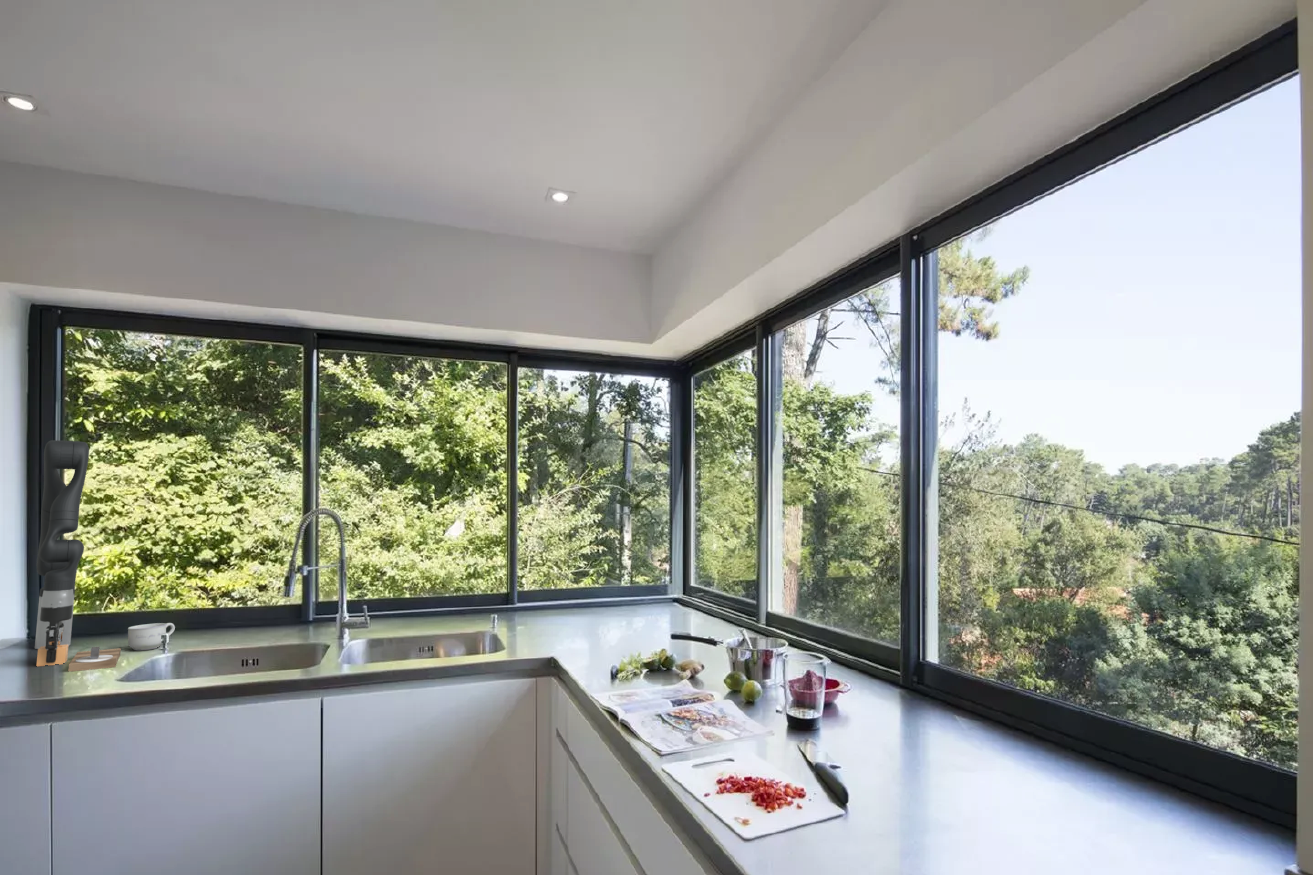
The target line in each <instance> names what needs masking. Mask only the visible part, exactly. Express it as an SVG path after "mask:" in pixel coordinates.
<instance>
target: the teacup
mask: <svg viewBox="0 0 1313 875" xmlns="http://www.w3.org/2000/svg"><path fill="white" fill-rule="evenodd" d="M168 627H170V630H169V631H168V632H167V628H168ZM175 628H176V626H175V624H174V623H172V622H167V623H163V622H161V623H160V622H157V623H155V622H154V623H147V624H139V625H132V626H129V627H128V628H127V630H128V631H127V644H128V646H129V647H130V648H131V649H133V650H134V651H148V650H154V649H158V648H160V647H161V645H162V644H161V635H163V634H168V635H169V636H171V635H172V634H174V632H175ZM169 636H168V637H169ZM159 646H160V647H159ZM157 647H158V648H157Z"/></svg>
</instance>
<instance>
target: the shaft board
mask: <svg viewBox="0 0 1313 875" xmlns="http://www.w3.org/2000/svg"><path fill="white" fill-rule="evenodd" d="M100 648H101V647H100V646H92V647H91V649H90V650H85V651H77V652H76V653H75V655H74V657H73V658H72V659H71V661H70V662H69V664H68V670H67V671H68V672H69V671H70V672H76V671H77V672H78V671H90V670H89V669H91V670H100V669H109V668H116V666H117V664H118V662H119V659H120V657H121V654H122V652H121V650H122V648H118V647H117V648H110V649H109V648H107V649H100Z"/></svg>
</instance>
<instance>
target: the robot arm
mask: <svg viewBox="0 0 1313 875" xmlns="http://www.w3.org/2000/svg"><path fill="white" fill-rule="evenodd" d="M43 451H44V452H43V476H44V477H43V480H44V481H43V494H42V501H41V510H40V512H41V514H40V536H39V545H38V549H37V558H36V572H37V574H38V575H39V576H41V577H42V576H43V577H44V581H43V587H41V588H40V589H39V595H38V596H39V597H38V608H37V609H38V610H37V619H36V620H37V621H36V632H35V640H34V641H35V642H34V649H35V650H38V649H39V648H40V647H41V646H46V647H45V648H46V650H47V656H46V663H53V662H55V661H56V652H57V648H58V647H57V646H58V645H67V644H69V645H68V647H69V646H71V639H72V627H73V619H74V618H73V616H74V608H75V607H74V604H75V595H76V594H75V592H76V581H77V580H76V578H77V573H78V565H79V562H80V560H81V558H82V557H83V554H84V551H85V544H84V543H83V542H82V541H81V540H80V539H72V538H71V539H59V538H60V537H61V536H62V535H65V534H71V533H74V532H76V531H77V530H78V528H79V517H80V507H81V506H80V504H81V498H82V494H83V490H84V486H85V481H86V477H87V476H86V475H87V470H88V465H89V459H90V458H89V457H90V448H89V445H88V443H87V442H86V441H80V440H79V441H78V440H77V441H76V440H75V441H73V440H58V439H57V440H55V439H54V440H49V441H48V442H47V443H46V444H45V447H44V450H43ZM59 470H74V472H73V476H72V478H71V480H70V482H69V483H68V484H67V485H66V483H65V482H64V481H63V479H62V478H61V476H60V474H59Z"/></svg>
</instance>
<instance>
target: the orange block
mask: <svg viewBox="0 0 1313 875" xmlns="http://www.w3.org/2000/svg"><path fill="white" fill-rule="evenodd" d="M68 645H69V644H67V645H58V646H57V647H58V648H57V652H56V661H55V662H53V663H46V656H47V650H46V648H45V647H46V646H41V647H40V648H39V649H37V656H36V657H37V658H36V666H37V667H45V665H48V666H56V665H55V664H59V665H64V664H63V663H65V662H66V663H67V661H68V655H69V654H68V653H69V646H70V645H69V646H68ZM66 663H65V664H66Z"/></svg>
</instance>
